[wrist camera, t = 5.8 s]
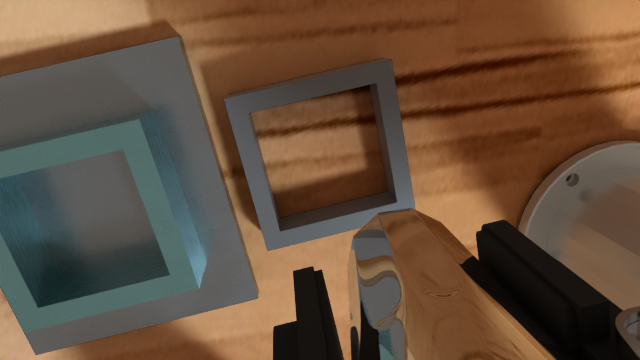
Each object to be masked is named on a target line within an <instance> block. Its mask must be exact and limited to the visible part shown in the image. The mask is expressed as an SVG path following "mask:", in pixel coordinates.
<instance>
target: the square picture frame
mask: <svg viewBox="0 0 640 360" xmlns="http://www.w3.org/2000/svg"><path fill="white" fill-rule="evenodd" d="M366 85H369V86H370V92H371V97H372V103H373V108H374V114H375V119H376V125H377V131H378V136H379V142H380V147H381V153H382V158H383V164H384V170H385V175H386V181H387V186H388V192H384V193H380V194H376V195H372V196H368V197H364V198H360V199H356V200H352V201H348V202H344V203H340V204H336V205H332V206H328V207H323V208H319V209H315V210H311V211H307V212H303V213H299V214H295V215H291V216H287V217H283V218H279V216H278V212H277V208H276V205H275V201H274V197H273V194H272V190H271V186H270V183H269V179H268V175H267V171H266V168H265V164H264V160H263V157H262V153H261V149H260V146H259V142H258V138H257V135H256V131H255V127H254V124H253V120H252V116H251V113H252V112H256V111H260V110H265V109H269V108H273V107H277V106H281V105H286V104H290V103H294V102H298V101H303V100H307V99H311V98H315V97H319V96H324V95H328V94H332V93H336V92H340V91H345V90H349V89H353V88H357V87H361V86H366ZM224 102H225V105H226V109H227V112H228V116H229V119H230V123H231V126H232V130H233V133H234V137H235V140H236V144H237V147H238V150H239V154H240V157H241V161H242V164H243V168H244V171H245V175H246V178H247V182H248V185H249V189H250V192H251V196H252V199H253V203H254V206H255V209H256V213H257V216H258V220H259V223H260V227H261V230H262V234H263V237H264V241H265V244H266V248H267V251H270V250H274V249H278V248H282V247H286V246H290V245H294V244H298V243H302V242H306V241H310V240H314V239H318V238H322V237H326V236H330V235H334V234H338V233H342V232H346V231H350V230H354V229H358V228H362V227H363V226H364V225H365V224H366V223H367V222H368V221H370V220H371V219H372V218H373V217H374V216H375V215H376V214H377V213H380V212H387V211H393V210H400V209H406V208H413V209H415V202H414V196H413V190H412V184H411V177H410V171H409V165H408V159H407V152H406V146H405V140H404V134H403V127H402V121H401V115H400V109H399V103H398V96H397V90H396V84H395V78H394V71H393V65H392V60H391V59H384V58H381V59H377V60H372V61H368V62H364V63H360V64H355V65H351V66H347V67H343V68H338V69H334V70H330V71H326V72H321V73H317V74H313V75H309V76H304V77H300V78H296V79H292V80H287V81H283V82H279V83H275V84H270V85H266V86H262V87H258V88H253V89H249V90H245V91H241V92H236V93H232V94H228V95H227V96H226V97H225V98H224ZM415 210H416V209H415Z"/></svg>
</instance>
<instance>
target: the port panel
mask: <svg viewBox="0 0 640 360" xmlns="http://www.w3.org/2000/svg"><path fill="white" fill-rule="evenodd" d="M0 288H1V290H2V292H3V294H4V295H5V297H6V299H7V301H8V303H9V305H10V307H11V309H12V311H13V313H14V315H15V316H16V318H17V320H18V322H19V324H20V326H21V328H22V330H23V332H24V334H25V335H26V337H27V339H28V341H29V343H30V345H31V347H32V349H33V351H34V353H35V355H38V354H42V353H46V352H50V351H54V350H58V349H62V348H66V347H70V346H74V345H78V344H82V343H86V342H90V341H93V340H97V339H101V338H105V337H109V336H113V335H117V334H121V333H125V332H129V331H133V330H137V329H141V328H144V327H148V326H152V325H156V324H160V323H164V322H168V321H172V320H176V319H180V318H184V317H188V316H192V315H195V314H199V313H203V312H207V311H211V310H215V309H219V308H223V307H227V306H231V305H235V304H239V303H243V302H247V301H250V300H254V299H258V291H259V290H258V287H257V283H256V280H255V277H254V273H253V270H252V267H251V264H250V260H249V257H248V254H247V250H246V247H245V244H244V241H243V237H242V234H241V231H240V228H239V224H238V221H237V218H236V214H235V211H234V208H233V205H232V201H231V198H230V195H229V192H228V188H227V185H226V182H225V178H224V175H223V172H222V169H221V165H220V162H219V159H218V156H217V152H216V149H215V146H214V142H213V139H212V136H211V133H210V129H209V126H208V123H207V119H206V116H205V113H204V110H203V106H202V103H201V100H200V97H199V93H198V90H197V87H196V83H195V80H194V77H193V74H192V70H191V67H190V64H189V61H188V57H187V54H186V51H185V47H184V44H183V41H182V38H181V36H177V37H172V38H168V39H164V40H159V41H155V42H151V43H146V44H142V45H137V46H133V47H129V48H124V49H120V50H116V51H111V52H107V53H103V54H98V55H94V56H89V57H85V58H81V59H76V60H72V61H68V62H63V63H59V64H54V65H50V66H46V67H41V68H37V69H33V70H28V71H24V72H20V73H15V74H11V75H6V76H2V77H0Z"/></svg>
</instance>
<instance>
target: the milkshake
mask: <svg viewBox="0 0 640 360" xmlns="http://www.w3.org/2000/svg"><path fill="white" fill-rule="evenodd" d="M347 273H348V295H349V317H350V339H351V360H577V359H576V358H574V357H573V356H572V355H571V354H570V353H569V352H568V351H567V350H566V349H565V348H564V347H563V346H562V345H561V344H560V343H559V342H558V341H557V340H556V339H555V338H554V337H553V336H552V335H551V334H550V333H549V332H548V331H547V330H545V329H544V328H543V327H542V326H541V325H540V324H539V323H538V322H537V321H536V320H535V319H534V318H533V317H532V316H531V315H530V314H529V313H528V312H527V311H526V310H525V309H524V307H523V306H522V305H521V304H520V303H519V302H518V301H517V300H516V299H515V298H514V297H513V296H512V295H511V294H510V293H509V292H508V291H507V290H506V289H505V288H504V286H503V285H502V284H501V283H500V282H499V281H498V280H497V279H496V278H495V277H494V276H493V275H492V274H491V273H490V272H489V271H488V270H487V269H486V268H485V267H484V266H483V265H482V264H481V263H480V262H479V261H478V260H477V259H476V258H475V257H474V255H473V254H472V253H471V252H470V251H469V250H468V249H467V248H466V247H465V246H464V245H463V244H462V243H461V242H460V241H459V240H458V239H457V238H456V237H455V236H454V235H453V234H452V233H451V232H450V231H449V230H448V229H447V228H446V227H445V226H444V225H443V224H442V223H441V222H440V221H438V220H436V219H434V218H432V217H430V216H427V215H425V214H423V213H421V212H419V211H417V210H415V209H413V208H406V209H400V210H393V211H387V212H380V213H377V214H376V215H375V216H374V217H373V218H372V219H371V220H370V221H368V222H367V223H366V224H365V225H364V226H363V227H362V228H361V229H359V230H358V231H357V232H356V233H355V234H354V235H353V240H352V245H351V250H350V255H349V259H348V264H347Z"/></svg>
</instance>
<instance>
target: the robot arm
mask: <svg viewBox="0 0 640 360" xmlns="http://www.w3.org/2000/svg"><path fill="white" fill-rule="evenodd" d="M476 240H477V248H478V257H479V262H480V263H481V264H482V265H483V266H484V267H485V268H486V269H487V270H488V271H489V272H490V273H491V274H492V275H493V276H494V277H495V278H496V279H497V280H498V281H499V282H500V283H501V284H502V285H503V286H504V288H505V289H506V290H507V291H508V292H509V293H510V294H511V295H512V296H513V297H514V298H515V299H516V300H517V301H518V302H519V303H520V304H521V305H522V306H523V307H524V309H525V310H526V311H527V312H528V313H529V314H530V315H531V316H532V317H533V318H534V319H535V320H536V321H537V322H538V323H539V324H540V325H541V326H542V327H543V328H544V329H545V330H547V331H548V332H549V333H550V334H551V335H552V336H553V337H554V338H555V339H556V340H557V341H558V342H559V343H560V344H561V345H562V346H563V347H564V348H565V349H566V350H567V351H568V352H569V353H570V354H571V355H572V356H573V357H574V358H576V359H577V360H640V142H639V141H632V140H624V141H611V142H607V143H603V144H599V145H595V146H593V147H590V148H588V149H586V150H584V151H581V152H579V153H577V154H575V155H574V156H572V157H571V158H569V159H568V160H566V161H565V162H563V163H562V164H560V165H559V166H558V167H557V168H556V169H555V170H554V171H553V172H552V173H550V174H549V175H548V176H547V177H546V178H545V180H544V181H543V182H542V183H541V184H540V186H539V187H538V188H537V189H536V191H535V192H534V194H533V195H532V197H531V199H530V201H529V202H528V204H527V206H526V208H525V210H524V212H523V215H522V218H521V221H520V223H519V227H518V230H517V229H516V228H515V227H513V226H512V225H511V224H510V223H508V222H507V221H505V220H500V221H496V222H492V223H488V224H484V225H483V226H482V229H481V231H478V232H477V233H476ZM293 277H294V291H295V304H296V318H297V321H294V322H290V323H286V324H282V325H278V326H274V330H273V360H344V358H343V353H342V349H341V345H340V341H339V337H338V333H337V329H336V325H335V321H334V317H333V313H332V309H331V305H330V301H329V297H328V293H327V289H326V285H325V280H324V276H323V272H322V270H318V271H314V268H313V266H312V267H308V268H304V269H300V270H296V271H293Z"/></svg>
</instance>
